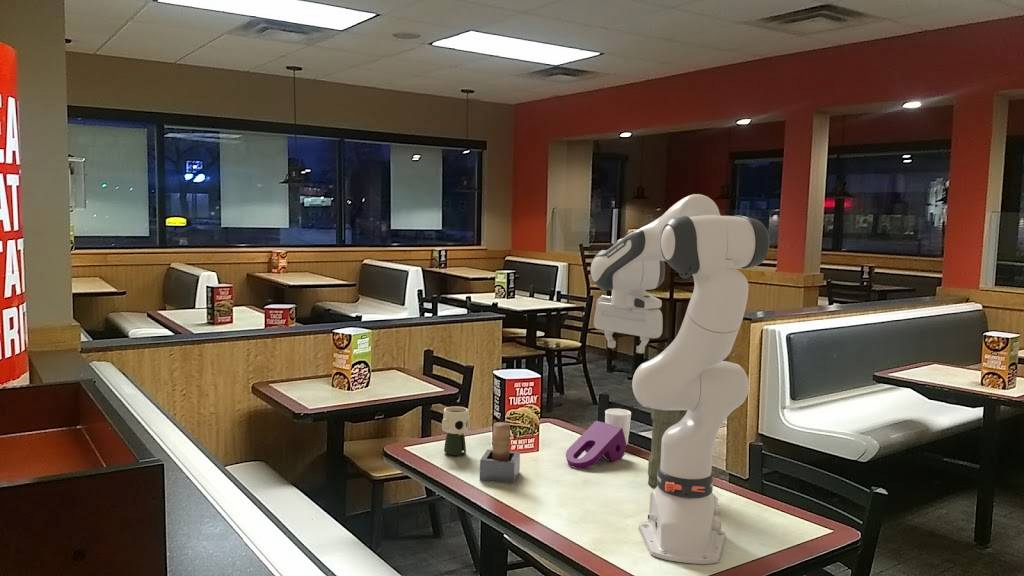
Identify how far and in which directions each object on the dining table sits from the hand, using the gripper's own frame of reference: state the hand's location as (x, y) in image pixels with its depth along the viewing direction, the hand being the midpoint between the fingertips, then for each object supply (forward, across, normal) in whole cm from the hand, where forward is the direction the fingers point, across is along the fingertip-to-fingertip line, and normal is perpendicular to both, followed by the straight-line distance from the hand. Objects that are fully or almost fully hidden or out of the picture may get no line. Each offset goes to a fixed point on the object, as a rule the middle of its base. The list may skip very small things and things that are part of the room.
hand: (625, 350), depth 205 cm
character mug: (+34, -41, -23) cm, 58 cm away
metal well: (+34, -20, -26) cm, 47 cm away
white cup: (+34, -18, +22) cm, 45 cm away
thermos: (+34, +13, +3) cm, 37 cm away
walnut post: (+34, -20, -26) cm, 47 cm away
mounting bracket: (+35, -12, +4) cm, 37 cm away
